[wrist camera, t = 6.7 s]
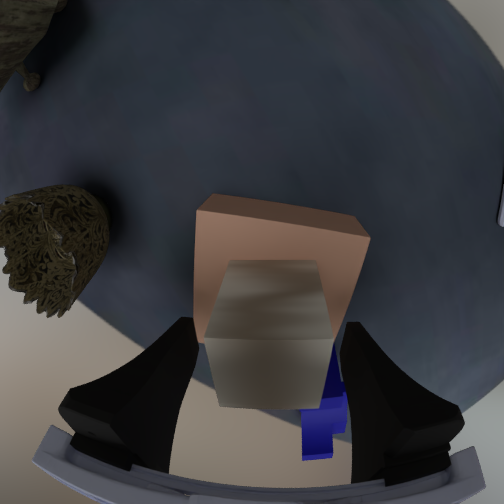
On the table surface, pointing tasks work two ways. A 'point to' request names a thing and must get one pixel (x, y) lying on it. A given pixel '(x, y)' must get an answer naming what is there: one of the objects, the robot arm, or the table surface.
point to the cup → (53, 243)
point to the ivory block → (270, 335)
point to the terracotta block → (275, 248)
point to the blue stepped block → (325, 416)
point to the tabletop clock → (23, 35)
